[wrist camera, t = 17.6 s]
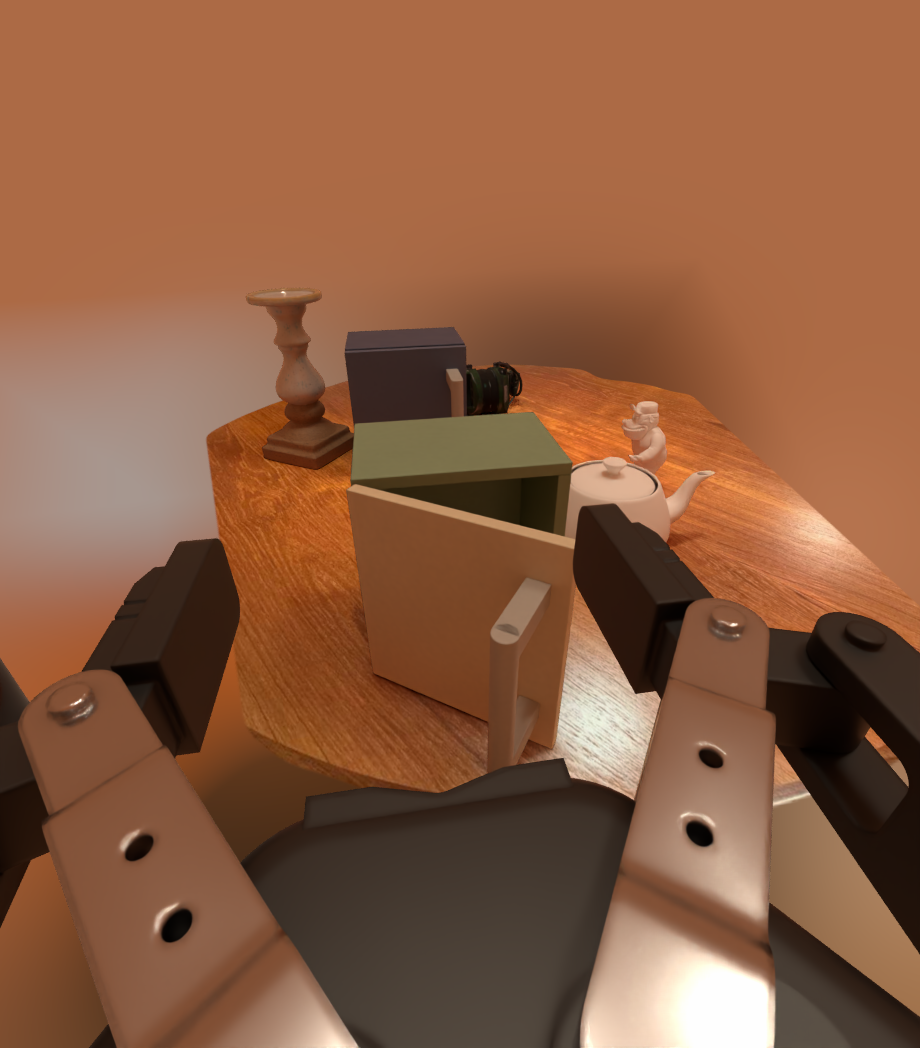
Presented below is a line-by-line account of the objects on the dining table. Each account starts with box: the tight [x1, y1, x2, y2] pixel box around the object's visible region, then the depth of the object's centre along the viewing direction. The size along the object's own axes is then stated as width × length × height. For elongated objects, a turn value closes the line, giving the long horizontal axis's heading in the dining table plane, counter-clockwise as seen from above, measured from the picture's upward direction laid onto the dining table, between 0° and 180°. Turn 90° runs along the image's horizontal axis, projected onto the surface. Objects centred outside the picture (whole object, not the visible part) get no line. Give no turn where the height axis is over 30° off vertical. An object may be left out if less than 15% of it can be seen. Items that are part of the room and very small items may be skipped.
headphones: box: [466, 362, 522, 416], centre depth 100 cm, size 13×13×20 cm
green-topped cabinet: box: [351, 412, 572, 537], centre depth 46 cm, size 11×16×18 cm
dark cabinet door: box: [345, 345, 467, 427], centre depth 71 cm, size 7×16×18 cm, turn 98°
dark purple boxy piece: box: [345, 327, 465, 351], centre depth 79 cm, size 11×16×18 cm
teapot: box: [565, 457, 715, 542], centre depth 58 cm, size 22×14×11 cm, turn 97°
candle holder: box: [246, 288, 354, 469], centre depth 79 cm, size 11×11×24 cm
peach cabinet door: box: [346, 484, 576, 773], centre depth 35 cm, size 7×16×18 cm, turn 62°
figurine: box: [622, 401, 667, 475], centre depth 70 cm, size 9×6×12 cm
